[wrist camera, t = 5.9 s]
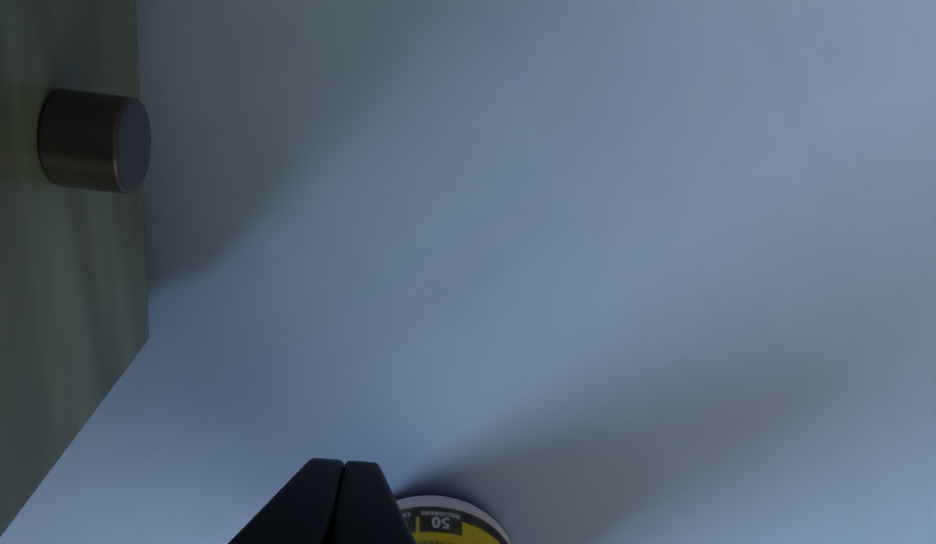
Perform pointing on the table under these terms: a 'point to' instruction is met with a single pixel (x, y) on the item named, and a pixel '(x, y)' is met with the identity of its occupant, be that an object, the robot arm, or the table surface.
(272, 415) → the table surface
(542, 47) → the table surface
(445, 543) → the supplement bottle
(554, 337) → the table surface
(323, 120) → the table surface
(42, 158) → the drawer
